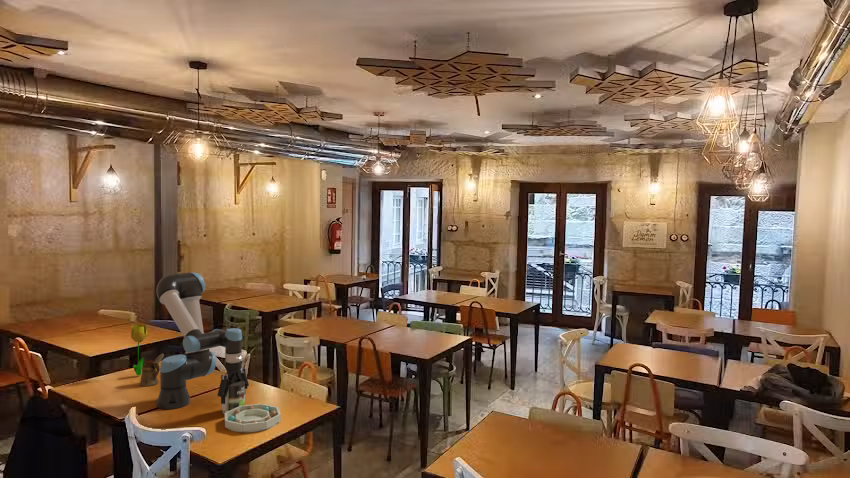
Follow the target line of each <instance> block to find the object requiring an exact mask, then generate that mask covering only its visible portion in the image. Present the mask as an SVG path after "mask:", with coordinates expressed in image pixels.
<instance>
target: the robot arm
mask: <svg viewBox="0 0 850 478" xmlns="http://www.w3.org/2000/svg"><path fill="white" fill-rule="evenodd" d="M205 289H206V282H205V280H204V278H203V276H202V275H201V274H200V273H198V272H182V273H181V272H180V273H171V274H167V275H164V276H163V277H161V279H160V280H159V281H158V283H157V285H156V296H157V299H158V300H159V302H160V304H162V305H164V306H165V308H166V309H167V311H168V313H169V314H170V316H171V318H172V320H173V322H174V323H175V324H176V326H177V328H178V330H179V331H180V333H181V335H182V336H183V340H182V347H183V349H184V351H185V352H184V354H173V355H169V356H167V357H164V358H162V360H161V361H160V364H159V366H160V371H159V374H160V375H159V376H160V377H159V381H160V384H159V385H160V386H159V387H160V391H159V393H158V397H157V399H156V407H157V408H159V409H163V410H173V409H179V408H183V407H185V406H187V405H189V404H190V403H191V396H190V394H189V392H188V388H187V381H189V380H193V379H196V378H201V377H205V376H208V375H210V374H212V373H213V372H214V370H215V368H216V365H217V358H216V355H215V354H214V352H212V351H210V349H213V348H217V347H223V348H225V349H224V350H225V352H224V354H225V355H224V356H225V358H224V359H225V360H224V361H225V366H224V367H225V370H226V373H225V374H221V376H220V383H219V387H218V392H217V395H216V396H217V397H219V398H220V405H221V410H227V396H226V395H227V392H228V387H225V386H230V385H231V383H232V382H233V381H235V380H237V381H242V380H243V381H245V395H246V390H247V389H248V387H249V386H250V385H249V381H248V380H249V379H248V378H247V377H248V376H247V373H246V371H247V370H246V368H243V361H242V359H243V353H242V352H243V333H242V329H240V328H238V327H237V328H235V327H231V328H227V329H226V330H224V329H221V328H220V329H219V328H216V329H213V330H212V331H209V332H204V326H203V324H204V323H203V317H202V311H201V304H200V299H201V298H202V297H203V296H202V294H203V293H205ZM228 380H229V381H228ZM245 402H246V396H245V397H244V403H245Z"/></svg>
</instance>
